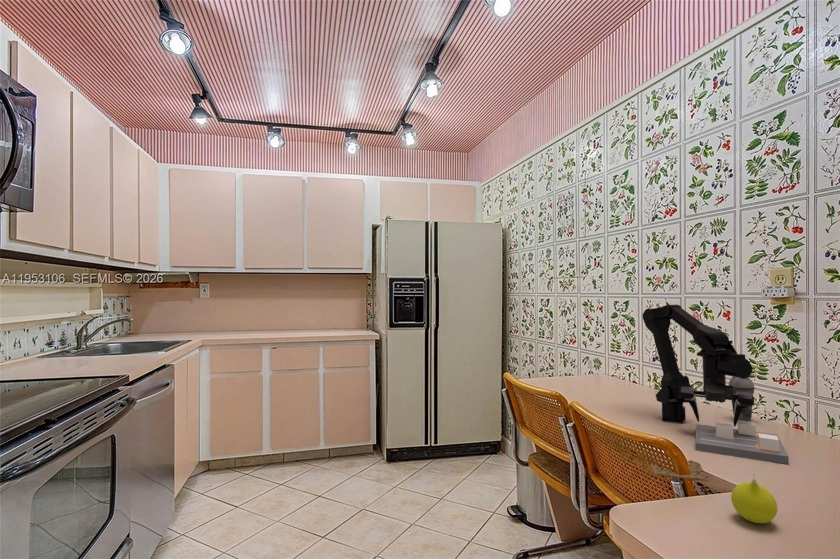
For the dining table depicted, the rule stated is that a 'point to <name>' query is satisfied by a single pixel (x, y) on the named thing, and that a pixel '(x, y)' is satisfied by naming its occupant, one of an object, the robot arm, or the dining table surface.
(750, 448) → the switch panel
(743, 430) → the slider far
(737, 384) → the beverage cup
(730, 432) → the slider middle
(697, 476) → the speckled tan slab
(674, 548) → the dining table surface
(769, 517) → the ornament
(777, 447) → the slider near
